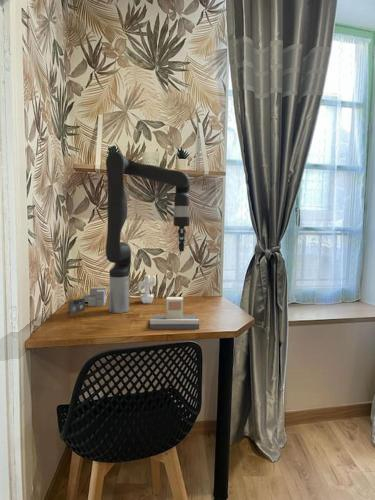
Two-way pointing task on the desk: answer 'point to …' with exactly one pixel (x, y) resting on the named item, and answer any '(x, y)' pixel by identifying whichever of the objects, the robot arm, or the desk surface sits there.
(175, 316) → the tea carton
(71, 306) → the mini dv tape
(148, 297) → the white potted plant
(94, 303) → the grey stepped block
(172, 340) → the desk surface
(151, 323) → the shelf board
